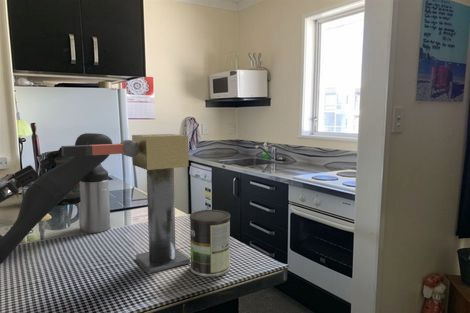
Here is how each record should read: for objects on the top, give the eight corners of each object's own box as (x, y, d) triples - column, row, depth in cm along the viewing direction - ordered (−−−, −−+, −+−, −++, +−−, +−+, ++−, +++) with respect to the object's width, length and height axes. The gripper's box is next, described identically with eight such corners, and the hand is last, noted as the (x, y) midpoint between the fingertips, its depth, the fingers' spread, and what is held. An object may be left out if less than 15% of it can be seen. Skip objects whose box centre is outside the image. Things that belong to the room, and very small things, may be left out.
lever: (134, 155, 90) (134, 139, 90) (140, 156, 87) (139, 140, 86) (61, 159, 81) (60, 142, 80) (64, 161, 77) (63, 143, 77)
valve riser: (150, 273, 87) (146, 136, 84) (136, 258, 96) (131, 134, 93) (190, 263, 93) (188, 135, 90) (173, 250, 103) (170, 133, 99)
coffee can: (189, 277, 85) (188, 221, 83) (191, 260, 95) (190, 209, 94) (231, 276, 86) (231, 220, 84) (229, 259, 96) (228, 209, 94)
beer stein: (97, 199, 167) (95, 146, 165) (58, 207, 151) (55, 150, 148) (76, 195, 176) (74, 145, 173) (37, 202, 160) (34, 148, 157)
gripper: (-31, 222, 76) (42, 180, 83) (-37, 239, 64) (49, 189, 71) (-55, 193, 73) (23, 153, 81) (-65, 206, 62) (26, 158, 69)
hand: (35, 170), depth 76 cm, fingers open, 8 cm apart
